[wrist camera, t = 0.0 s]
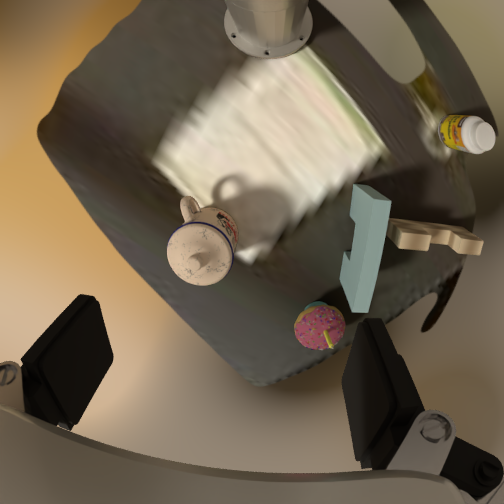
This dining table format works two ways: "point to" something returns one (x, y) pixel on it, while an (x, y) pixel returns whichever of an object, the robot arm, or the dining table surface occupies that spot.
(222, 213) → the teacup with lid
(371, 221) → the teal slotted plate
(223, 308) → the dining table surface
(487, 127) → the supplement bottle
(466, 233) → the birch slotted plate
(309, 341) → the cupcake
